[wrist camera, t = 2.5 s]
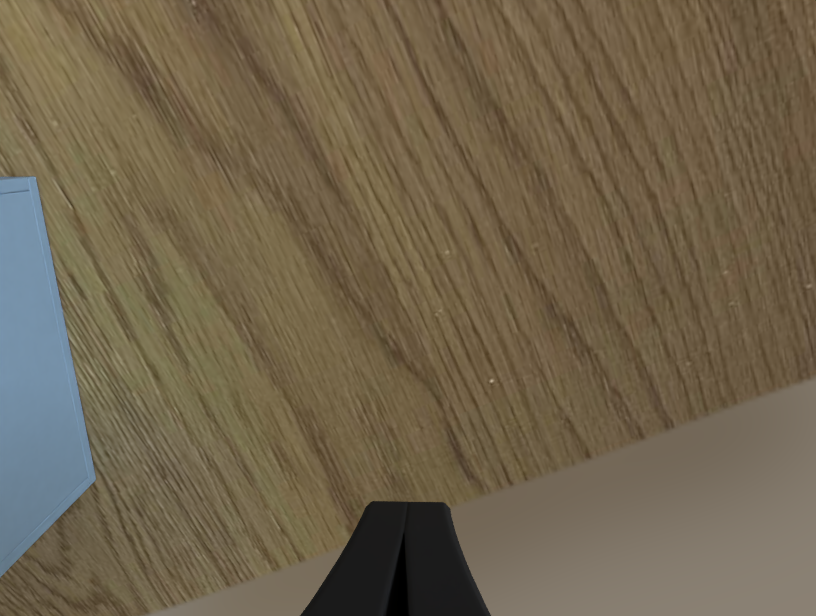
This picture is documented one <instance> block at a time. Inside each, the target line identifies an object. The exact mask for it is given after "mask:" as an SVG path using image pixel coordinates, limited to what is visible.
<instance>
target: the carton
mask: <svg viewBox="0 0 816 616" xmlns="http://www.w3.org/2000/svg"><path fill="white" fill-rule="evenodd" d="M95 480H96V476H95V471H94V466H93V461H92V456H91V451H90V446H89V441H88V436H87V431H86V426H85V421H84V416H83V411H82V406H81V401H80V396H79V391H78V386H77V381H76V376H75V371H74V366H73V361H72V356H71V351H70V346H69V341H68V336H67V331H66V326H65V321H64V316H63V311H62V306H61V301H60V296H59V291H58V286H57V281H56V276H55V271H54V266H53V261H52V256H51V251H50V246H49V241H48V236H47V231H46V226H45V221H44V216H43V211H42V206H41V201H40V196H39V191H38V186H37V181H36V177H0V577H1V576H2V575H3V574H4V573H5V572H6V571H7V570H8V569H9V568H10V567H11V566H12V565H13V564H14V563H15V562H16V561H17V560H18V559H19V558H20V557H21V556H22V555H23V554H24V553H25V552H26V551H27V550H28V549H29V548H30V547H31V546H32V545H33V544H34V543H35V541H36V540H37V539H38V538H39V537H40V536H41V535H42V534H43V533H44V532H45V531H46V530H47V529H48V528H49V527H50V526H51V525H52V524H53V523H54V522H55V521H56V520H57V519H58V518H59V517H60V516H61V515H62V514H63V513H64V512H65V511H66V510H67V509H68V508H69V507H70V506H71V505H72V504H73V503H74V502H75V501H76V500H77V499H78V498H79V497H80V496H81V495H82V494H83V493H84V492H85V491H86V490H87V489H88V487H89V486H90V485H91V484H92V483H93V482H94V481H95Z"/></svg>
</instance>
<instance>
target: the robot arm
mask: <svg viewBox="0 0 816 616" xmlns="http://www.w3.org/2000/svg"><path fill="white" fill-rule="evenodd" d="M300 616H491V615H490V613H489V611H488V609H487V607H486V605H485V603H484V601H483V598H482V596H481V594H480V592H479V590H478V588H477V585H476V583H475V581H474V579H473V577H472V575H471V572H470V570H469V567H468V565H467V563H466V560H465V558H464V555H463V552H462V550H461V547H460V544H459V541H458V538H457V535H456V532H455V529H454V525H453V521H452V518H451V511H450V508H449V507H448V506H447V505H446V504H445V503H444V502H387V501H372V502H371V503H370V504H369V505H368V506H366V508H365V510H364V512H363V515H362V517H361V519H360V521H359V523H358V525H357V527H356V529H355V531H354V532H353V534H352V536H351V538H350V540H349V541H348V543H347V545H346V547H345V548H344V550H343V552H342V554H341V555H340V557H339V559H338V560H337V562H336V564H335V565H334V566H333V568H332V569H331V571H330V573H329V574H328V576H327V577H326V579H325V581H324V582H323V583H322V585H321V587H320V588H319V590H318V591H317V593H316V594H315V596H314V597H313V599H312V600H311V602H310V603H309V605H308V606H307V607H306V608H305V610H304V611H303V613H302V614H301V615H300Z"/></svg>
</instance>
